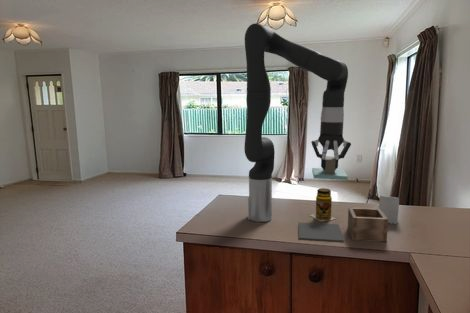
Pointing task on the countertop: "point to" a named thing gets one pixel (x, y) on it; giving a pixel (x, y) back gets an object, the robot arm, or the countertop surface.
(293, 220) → the countertop surface
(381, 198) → the grey rectangular block
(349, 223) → the storage box
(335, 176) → the lid
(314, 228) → the mat
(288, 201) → the countertop surface
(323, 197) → the condiment
